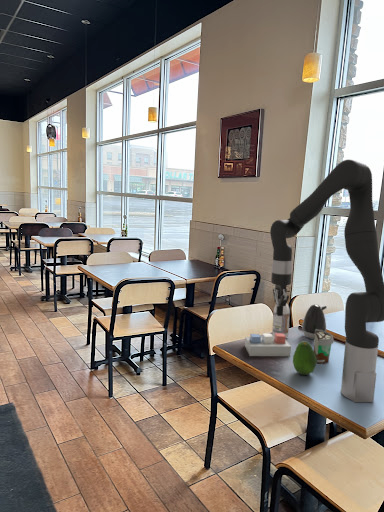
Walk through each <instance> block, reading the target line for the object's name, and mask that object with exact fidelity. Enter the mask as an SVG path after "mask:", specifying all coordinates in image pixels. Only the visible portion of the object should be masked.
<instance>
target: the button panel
mask: <svg viewBox="0 0 384 512" xmlns="http://www.w3.org/2000/svg"><path fill="white" fill-rule="evenodd" d="M260 337H261V342H260V343H251V342H250V336H245V338H244V340H245V341H244V346H245V349H246V352H247V353H248V355H249V357H291V353H292V352H291V351H292V345H290V343H289V342H288V340H287V339H285V344H276V343H275V341H274V339H275V337H273V344H268V343H263V342H262V337H263V336H260Z"/></svg>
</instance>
